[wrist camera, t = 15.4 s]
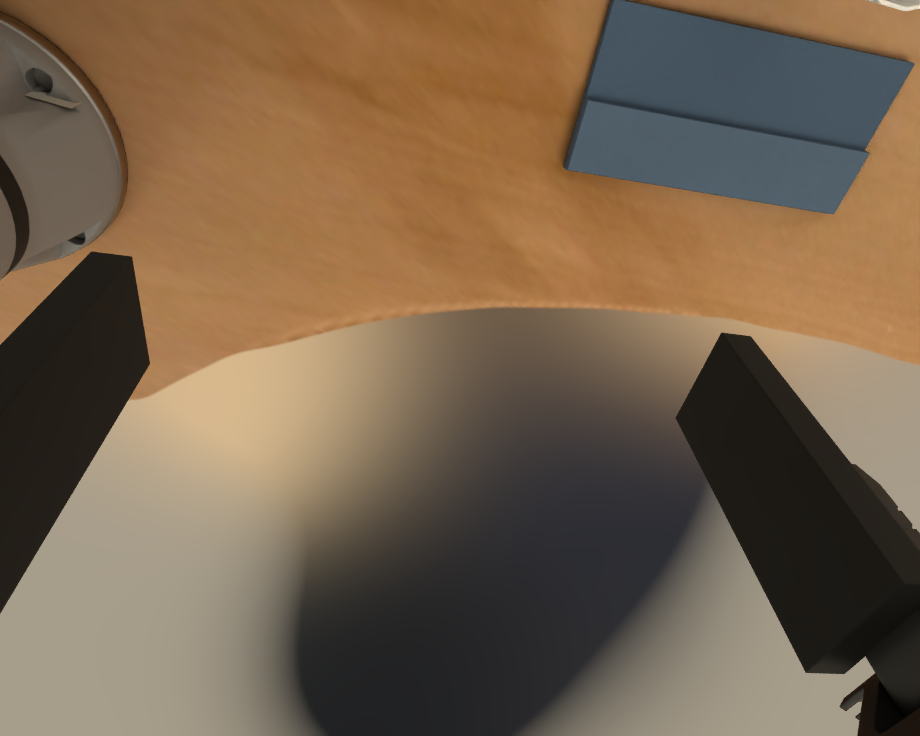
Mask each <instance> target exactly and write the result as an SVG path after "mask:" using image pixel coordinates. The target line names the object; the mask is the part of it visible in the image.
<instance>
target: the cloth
mask: <svg viewBox="0 0 920 736" xmlns="http://www.w3.org/2000/svg"><path fill="white" fill-rule="evenodd" d="M913 66H914V63H912V62H908V61H903V60H899V59H894V58H890V57H885V56H880V55H876V54H871V53H867V52H862V51H857V50H853V49H848V48H844V47H839V46H834V45H830V44H825V43H821V42H816V41H811V40H807V39H802V38H798V37H793V36H788V35H784V34H779V33H774V32H770V31H765V30H761V29H756V28H751V27H747V26H742V25H738V24H733V23H728V22H724V21H719V20H715V19H710V18H705V17H701V16H696V15H692V14H687V13H682V12H678V11H673V10H669V9H664V8H659V7H655V6H650V5H645V4H641V3H636V2H632V1H627V0H611V2H610V6H609V9H608V13H607V16H606V20H605V23H604V27H603V30H602V34H601V37H600V41H599V44H598V48H597V51H596V55H595V58H594V62H593V65H592V69H591V72H590V76H589V79H588V83H587V86H586V90H585V93H584V97H583V100H582V104H581V107H580V111H579V114H578V118H577V121H576V125H575V128H574V132H573V135H572V139H571V142H570V146H569V149H568V153H567V156H566V160H565V163H564V168H565V170H570V171H576V172H582V173H588V174H594V175H600V176H606V177H612V178H618V179H624V180H630V181H636V182H642V183H648V184H654V185H660V186H666V187H672V188H678V189H684V190H690V191H696V192H702V193H708V194H714V195H720V196H726V197H732V198H737V199H743V200H749V201H755V202H761V203H767V204H773V205H779V206H785V207H791V208H797V209H803V210H809V211H815V212H821V213H829V214H834V213H835V211H836V210H837V208H838V206H839V205H840V203H841V201H842V200H843V198H844V196H845V195H846V193H847V191H848V189H849V188H850V186H851V184H852V183H853V181H854V179H855V178H856V176H857V174H858V172H859V171H860V169H861V167H862V166H863V164H864V162H865V161H866V159H867V157H868V156H869V154H870V153H869V152H867V151H865V149H866V147H867V145H868V143H869V142H870V140H871V138H872V137H873V135H874V133H875V131H876V130H877V128H878V126H879V125H880V123H881V121H882V119H883V118H884V116H885V114H886V112H887V111H888V109H889V107H890V106H891V104H892V102H893V100H894V99H895V97H896V95H897V94H898V92H899V90H900V88H901V87H902V85H903V83H904V82H905V80H906V78H907V76H908V75H909V73H910V71H911V70H912V68H913Z"/></svg>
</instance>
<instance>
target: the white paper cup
mask: <svg viewBox="0 0 920 736" xmlns="http://www.w3.org/2000/svg"><path fill="white" fill-rule="evenodd" d="M867 1H871V2H874V3H878V4H881V5H885V6H888V7H892V8H895V9H899V10H902V11H909V10H914V9H920V0H867Z"/></svg>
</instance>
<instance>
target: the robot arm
mask: <svg viewBox="0 0 920 736" xmlns="http://www.w3.org/2000/svg"><path fill="white" fill-rule="evenodd" d="M127 182H128V169H127V160H126V154H125V150H124V146H123V142H122V139H121V136H120V133H119V131H118V128H117V126H116V123H115V121H114V119H113V117H112V115H111V113H110V111H109V109H108V108H107V106H106V104H105V103H104V101H103V99H102V98H101V96H100V95H99V93H98V92H97V91H96V89H95V88H94V86H93V85H92V84H91V83H90V81H89V80H88V79H87V78H86V76H85V75H84V74H83V73H82V72H81V71H80V70H79V69H78V68H77V66H76V65H75V64H74V63H73V62H72V61H71V60H70V59H69V58H68V57H66V56H65V55H64V54H63V53H62V52H61V51H60V50H59V49H58V48H56V47H55V46H54V45H53V44H51V43H50V42H49V41H48V40H47V39H45V38H44V37H42V36H41V35H39V34H38V33H37V32H35V31H34V30H32V29H31V28H29V27H27V26H26V25H24V24H22V23H21V22H19V21H17V20H15V19H13V18H11V17H10V16H8V15H6V14H4V13H1V12H0V280H1V279H2V278H3V277H4V276H6V275H7V274H8V273H9V272H11V271H15V270H19V269H23V268H26V267H30V266H34V265H38V264H41V263H45V262H49V261H53V260H56V259H60V258H63V257H66V256H68V255H70V254H73V253H75V252H77V251H78V250H80V249H82V248H84V247H85V246H87V245H89V244H90V243H91V242H93V241H94V240H95V239H97V238H98V237H99V236H100V235H101V234H102V233H103V232H104V231H105V230H106V229H107V228H108V227H109V226H110V225H111V223H112V222H113V221H114V219H115V218H116V217H117V215H118V213H119V211H120V209H121V207H122V204H123V202H124V199H125V195H126V190H127ZM149 364H150V361H149V355H148V349H147V343H146V337H145V331H144V326H143V320H142V314H141V308H140V302H139V296H138V290H137V284H136V278H135V272H134V266H133V260H132V257H130V256H122V255H114V254H107V253H99V252H90V253H89V255H88V256H87V257H86V258H85V259H84V260H83V261H82V262H81V263H80V264H79V265H78V266H77V267H76V268H75V269H74V270H73V271H72V272H71V273H70V274H69V275H68V276H67V277H66V278H65V279H64V280H63V281H62V282H61V283H60V284H59V285H58V286H57V287H56V288H55V289H54V290H53V291H52V292H51V294H50V295H49V296H48V297H47V298H46V299H45V300H44V301H43V302H42V303H41V304H40V305H39V306H38V307H37V308H36V309H35V310H34V311H33V312H32V313H31V314H30V315H29V316H28V317H27V318H26V319H25V320H24V321H23V322H22V323H21V324H20V325H19V326H18V327H17V328H16V329H15V330H14V332H13V333H12V334H11V335H10V336H9V337H8V338H7V339H6V340H5V341H4V342H3V343H2V344H1V345H0V613H1V611H2V610H3V608H4V606H5V605H6V603H7V601H8V600H9V598H10V596H11V595H12V593H13V591H14V590H15V588H16V586H17V585H18V583H19V581H20V580H21V578H22V576H23V574H24V573H25V571H26V570H27V568H28V566H29V565H30V563H31V561H32V560H33V558H34V556H35V555H36V553H37V551H38V550H39V548H40V546H41V544H42V543H43V541H44V540H45V538H46V536H47V535H48V533H49V531H50V529H51V528H52V526H53V525H54V523H55V521H56V519H57V518H58V516H59V515H60V513H61V511H62V509H63V508H64V506H65V505H66V503H67V501H68V500H69V498H70V496H71V494H72V493H73V491H74V490H75V488H76V486H77V484H78V483H79V481H80V480H81V478H82V476H83V474H84V473H85V471H86V470H87V468H88V466H89V465H90V463H91V461H92V460H93V458H94V456H95V454H96V453H97V451H98V449H99V448H100V446H101V445H102V443H103V441H104V439H105V438H106V436H107V435H108V433H109V431H110V429H111V428H112V426H113V425H114V423H115V421H116V419H117V418H118V416H119V414H120V413H121V411H122V409H123V408H124V406H125V405H126V403H127V401H128V400H129V398H130V396H131V395H132V393H133V391H134V390H135V388H136V386H137V385H138V383H139V381H140V379H141V378H142V376H143V374H144V373H145V371H146V369H147V368H148V366H149ZM676 420H677V422H678V424H679V426H680V427H681V429H682V432H683V433H684V435H685V437H686V439H687V441H688V443H689V445H690V447H691V449H692V451H693V453H694V455H695V457H696V459H697V461H698V463H699V465H700V467H701V469H702V471H703V472H704V475H705V477H706V478H707V480H708V482H709V484H710V486H711V488H712V490H713V492H714V494H715V496H716V498H717V500H718V502H719V503H720V506H721V507H722V510H723V512H724V514H725V515H726V518H727V519H728V521H729V523H730V525H731V527H732V529H733V531H734V533H735V535H736V537H737V539H738V541H739V543H740V545H741V547H742V549H743V551H744V553H745V555H746V557H747V559H748V560H749V563H750V564H751V566H752V568H753V570H754V572H755V574H756V576H757V578H758V580H759V582H760V584H761V586H762V588H763V590H764V592H765V594H766V596H767V598H768V600H769V602H770V604H771V606H772V607H773V609H774V611H775V613H776V615H777V617H778V619H779V621H780V623H781V625H782V627H783V629H784V631H785V633H786V635H787V637H788V639H789V641H790V643H791V644H792V647H793V648H794V651H795V652H796V654H797V656H798V658H799V660H800V662H801V664H802V666H803V668H804V670H805V672H806V673H829V674H845V673H846V672H847V671H848V670H850V669H851V668H852V667H853V666H854V665H856V664H857V663H858V662H859V661H860V660H861V659H863V658H864V657H865V656H866V658H867V660H868V661H869V663H870V665H871V666H872V668H873V670H874V671H875V674H874V675H873V676H871V677H870V678H869V679H867V680H866V681H865V682H864V683H862V684H861V685H860V686H859V687H857V688H856V689H855V690H854V691H852V692H851V693H850V694H849V695H847V696H846V697H845V698H844V699H843V701H842V703H841V705H840V708H842V709H843V710H845V711H847V710H848V709H849V708H851V707H852V706H853V705H855V704H856V703H857V702H860V701H861V702H862V707H861V713H859V714H858V715H857V716H856V718H857V719H858V720H860V721H859V728H858V736H920V533H919V532H918V531H917V529H912V523H911V522H910V521H909V520H908V518H907V517H906V516H905V515H904V513H903V512H902V511H898V509H897V508H898V506H897V505H896V504H895V502H894V501H893V500H892V499H891V497H890V496H889V495H888V494H887V493H886V491H885V490H884V489H883V488H882V486H881V485H880V484H879V483H878V482H876V481H875V480H874V479H872V478H871V477H870V476H869V475H868V474H866V473H865V472H864V471H863V470H862V469H860V468H859V467H858V466H857V465H855V464H851V463H850V462H849V461H848V459H847V458H846V457H845V455H844V454H843V453H842V451H841V450H840V449H839V448H838V446H837V445H836V444H835V443H834V442H833V440H832V439H831V438H830V436H829V435H828V434H827V433H826V431H825V430H824V429H823V427H822V426H821V425H820V424H819V422H818V421H817V420H816V419H815V417H814V416H813V415H812V414H811V412H810V411H809V410H808V408H807V407H806V406H805V405H804V403H803V402H802V401H801V400H800V398H799V397H798V396H797V394H796V393H795V392H794V391H793V390H792V388H791V387H790V386H789V385H788V383H787V382H786V380H785V379H784V378H783V377H782V376H781V374H780V373H779V372H778V371H777V369H776V368H775V367H774V365H773V364H772V363H771V361H770V360H769V359H768V358H767V356H766V355H765V354H764V353H763V352H762V350H761V349H760V348H759V346H758V345H757V344H756V342H755V341H754V340H753V339H752V337H750V336H743V335H736V334H728V333H721V334H720V336H719V338H718V340H717V342H716V344H715V346H714V348H713V349H712V351H711V353H710V355H709V357H708V359H707V361H706V362H705V364H704V367H703V368H702V370H701V372H700V374H699V375H698V377H697V379H696V381H695V383H694V385H693V387H692V389H691V390H690V392H689V394H688V396H687V398H686V400H685V402H684V403H683V405H682V407H681V409H680V411H679V413H678V414H677V416H676Z"/></svg>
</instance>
